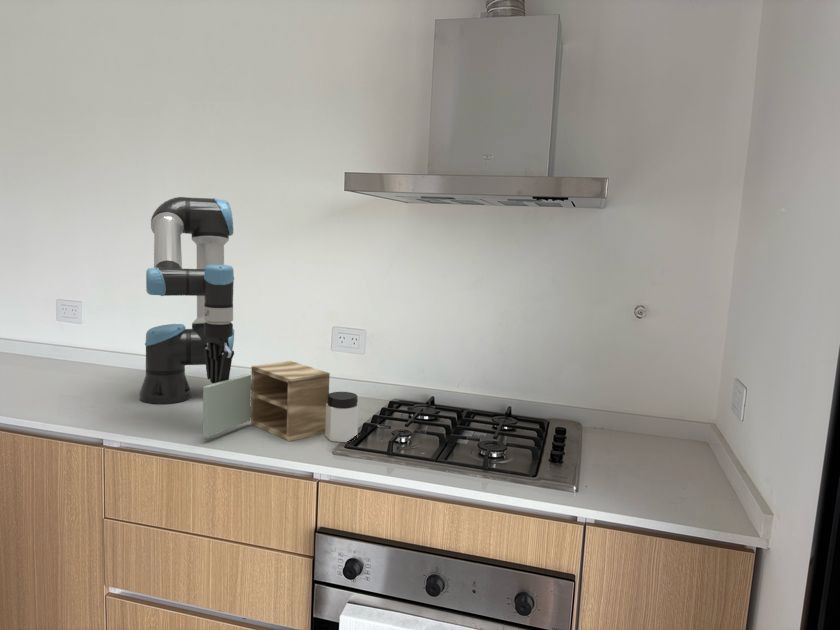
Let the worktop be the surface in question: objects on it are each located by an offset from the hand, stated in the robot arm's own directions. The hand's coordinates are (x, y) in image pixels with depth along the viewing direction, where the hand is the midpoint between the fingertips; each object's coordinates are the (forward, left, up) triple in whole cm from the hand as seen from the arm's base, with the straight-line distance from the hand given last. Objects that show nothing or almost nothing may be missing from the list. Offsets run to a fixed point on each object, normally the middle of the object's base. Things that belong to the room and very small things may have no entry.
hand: (217, 406), depth 184 cm
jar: (+26, +23, -7) cm, 35 cm away
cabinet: (+10, +17, -7) cm, 21 cm away
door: (+4, +1, -5) cm, 6 cm away
